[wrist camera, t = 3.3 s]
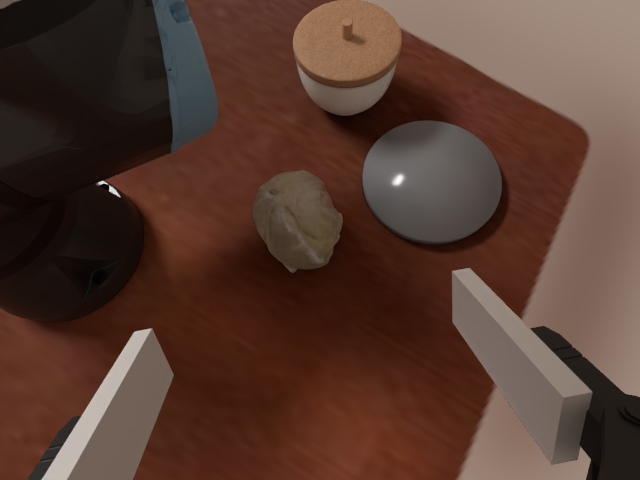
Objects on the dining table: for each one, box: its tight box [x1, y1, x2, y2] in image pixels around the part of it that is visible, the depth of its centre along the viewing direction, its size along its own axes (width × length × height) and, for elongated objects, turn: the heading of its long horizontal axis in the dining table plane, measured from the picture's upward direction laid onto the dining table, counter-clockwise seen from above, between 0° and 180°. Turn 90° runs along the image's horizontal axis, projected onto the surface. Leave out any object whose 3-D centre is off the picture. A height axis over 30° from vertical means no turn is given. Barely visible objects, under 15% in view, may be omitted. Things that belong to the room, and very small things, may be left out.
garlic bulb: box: [252, 170, 343, 273], centre depth 31 cm, size 9×8×10 cm
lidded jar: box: [293, 0, 402, 116], centre depth 37 cm, size 11×11×9 cm
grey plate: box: [362, 120, 502, 245], centre depth 36 cm, size 14×14×1 cm
